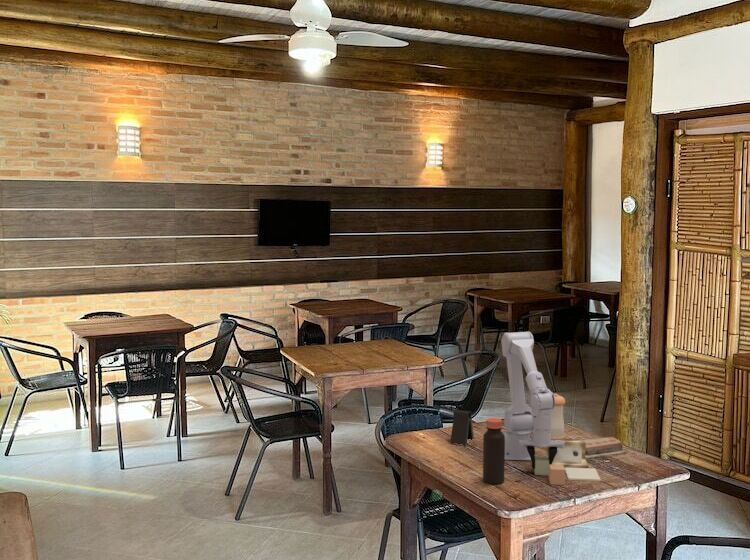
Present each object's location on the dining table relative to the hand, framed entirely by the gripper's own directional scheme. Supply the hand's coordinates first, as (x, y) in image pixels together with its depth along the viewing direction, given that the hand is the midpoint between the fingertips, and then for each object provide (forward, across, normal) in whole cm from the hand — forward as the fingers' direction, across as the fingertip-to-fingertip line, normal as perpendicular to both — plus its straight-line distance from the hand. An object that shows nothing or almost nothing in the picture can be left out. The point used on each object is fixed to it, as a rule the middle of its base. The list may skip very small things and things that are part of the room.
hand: (541, 468), depth 245 cm
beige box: (+1, +10, +9) cm, 13 cm away
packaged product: (+2, +22, +23) cm, 32 cm away
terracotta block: (+2, +4, -8) cm, 9 cm away
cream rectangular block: (0, +9, +9) cm, 13 cm away
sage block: (+2, 0, 0) cm, 2 cm away
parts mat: (+1, +13, -1) cm, 13 cm away
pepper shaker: (+2, +8, +30) cm, 31 cm away
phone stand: (+2, -26, +30) cm, 40 cm away
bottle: (+2, -16, -9) cm, 18 cm away
